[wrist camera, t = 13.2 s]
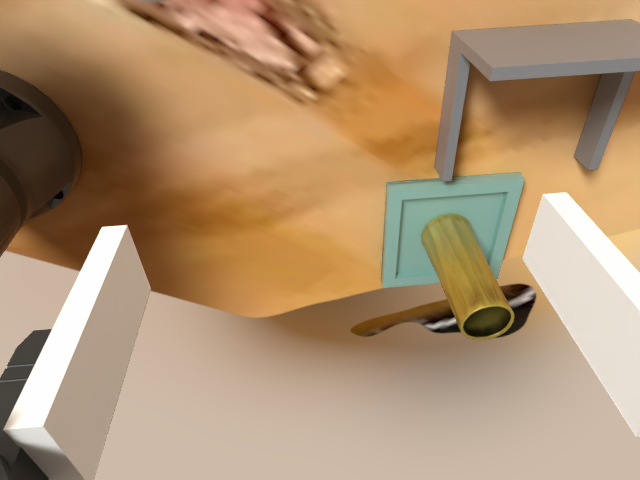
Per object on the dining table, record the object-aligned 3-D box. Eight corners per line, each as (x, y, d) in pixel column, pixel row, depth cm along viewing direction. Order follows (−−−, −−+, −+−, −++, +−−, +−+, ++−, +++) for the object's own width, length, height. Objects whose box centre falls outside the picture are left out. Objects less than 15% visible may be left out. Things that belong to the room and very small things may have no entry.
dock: (434, 166, 50) (463, 220, 43) (452, 31, 42) (492, 67, 34) (582, 155, 51) (638, 207, 43) (630, 19, 42) (711, 52, 34)
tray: (381, 280, 61) (383, 288, 59) (386, 182, 51) (389, 189, 50) (493, 270, 61) (497, 278, 60) (519, 172, 52) (524, 179, 51)
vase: (411, 229, 55) (446, 320, 44) (459, 203, 53) (507, 291, 42) (433, 260, 58) (470, 351, 47) (478, 237, 56) (527, 326, 45)
